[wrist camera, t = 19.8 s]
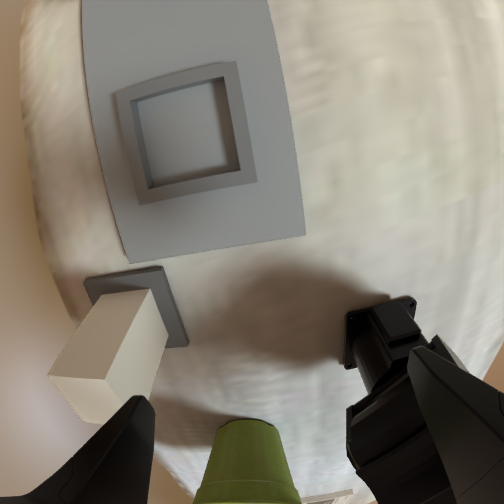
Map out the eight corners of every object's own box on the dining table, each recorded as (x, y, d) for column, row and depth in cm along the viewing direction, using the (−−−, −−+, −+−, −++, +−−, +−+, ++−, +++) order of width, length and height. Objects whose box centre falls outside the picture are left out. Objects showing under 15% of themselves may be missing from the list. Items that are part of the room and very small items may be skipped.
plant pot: (272, 393, 26) (281, 497, 15) (310, 439, 30) (323, 515, 20) (175, 418, 28) (160, 505, 17) (228, 458, 32) (226, 528, 22)
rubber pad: (189, 341, 23) (188, 346, 22) (117, 346, 23) (115, 350, 22) (163, 266, 20) (160, 270, 19) (86, 278, 20) (82, 282, 20)
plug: (168, 335, 22) (140, 428, 13) (122, 338, 22) (83, 421, 14) (150, 288, 20) (104, 379, 12) (101, 294, 20) (46, 375, 12)
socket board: (303, 229, 19) (353, 326, 10) (134, 258, 20) (65, 354, 10) (251, -50, 11) (255, -144, 1) (87, -4, 11) (6, -53, 2)
